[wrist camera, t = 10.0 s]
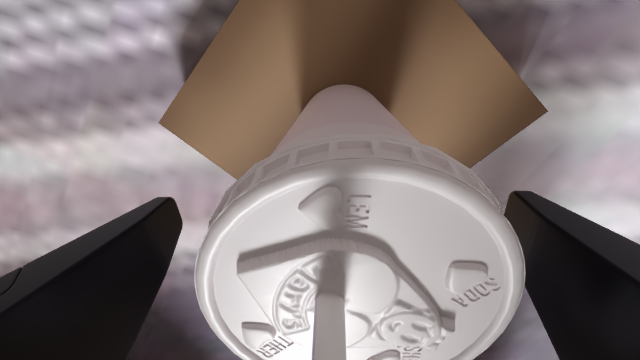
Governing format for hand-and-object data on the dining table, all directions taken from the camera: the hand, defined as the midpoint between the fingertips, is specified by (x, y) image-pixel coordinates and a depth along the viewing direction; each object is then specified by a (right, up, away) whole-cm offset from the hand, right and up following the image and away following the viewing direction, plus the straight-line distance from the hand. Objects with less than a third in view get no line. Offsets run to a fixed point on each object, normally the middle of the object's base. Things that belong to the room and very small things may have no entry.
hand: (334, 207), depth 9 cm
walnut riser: (+1, +6, +9) cm, 11 cm away
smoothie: (+1, +3, +6) cm, 7 cm away
